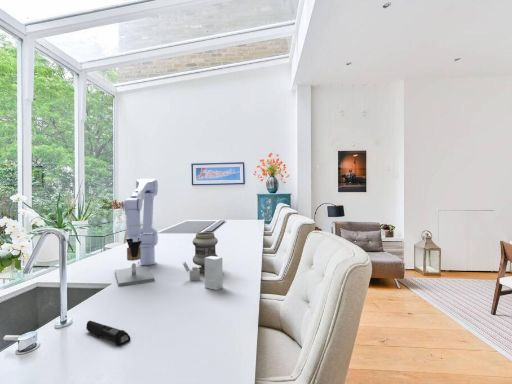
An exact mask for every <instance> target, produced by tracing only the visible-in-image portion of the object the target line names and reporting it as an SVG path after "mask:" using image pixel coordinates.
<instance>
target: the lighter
mask: <svg viewBox="0 0 512 384" xmlns="http://www.w3.org/2000/svg"><path fill="white" fill-rule="evenodd" d="M182 265H183V267H184V270H185V271H186V273H188V272H189V281H198V280H199V279H200V278H201V276H200V275H201V273H200V269H198V268H199V267H198V266H197V267H196V266H192V267H191V269H190V267H189V266H188V264H187V262H186V261H184V262H182Z"/></svg>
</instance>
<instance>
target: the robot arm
mask: <svg viewBox="0 0 512 384" xmlns="http://www.w3.org/2000/svg"><path fill="white" fill-rule="evenodd" d="M158 187H159V185H158V180H157V179H156V178H137V179H136V181H135V188H136V189H135V190H133V191H132V192H131V194H130V196H129V198H126V199H124V202H123V209H124V214H125V221H126V223H125V224H126V225H125V228H126V229H125V230H126V231H125V232H126V235H125V237H126V239H125V241H126V243H127V245H128V248H129V247H130V250H131V256H132V257H137V255H138V250H139V247H140V248H141V259H139V260H137V263H138V264H139V265H140V266H139V267H142V266H148V265H156V264H157V261H156V259H155V258H156V257H155V256H156V252H155V251H156V249H155V247H156V246H157V245H158V242H159V236H158V230H157V229H155V228H154V227H153V217H154V216H153V215H154V212H153V211H154V198H155V196H157V195H158V190H159V189H158ZM142 207H143V211H142ZM141 211H142V212H143V214H142V215H143V216H142V227H141Z"/></svg>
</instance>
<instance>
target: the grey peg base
mask: <svg viewBox="0 0 512 384" xmlns="http://www.w3.org/2000/svg"><path fill="white" fill-rule="evenodd" d="M114 274H115V278H116V281H117V286H118V287H123V286H129V285H130V286H131V285H136V284H143V283H144V284H145V283H151V282H155V281H156V280H155V276H154V275H153V273H152V272H151V270H150V269H149V267H148V265H142V266H137V264H136V263H134V262H133V263H132V264H131V267H128V268H120V269H115V270H114Z"/></svg>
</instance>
